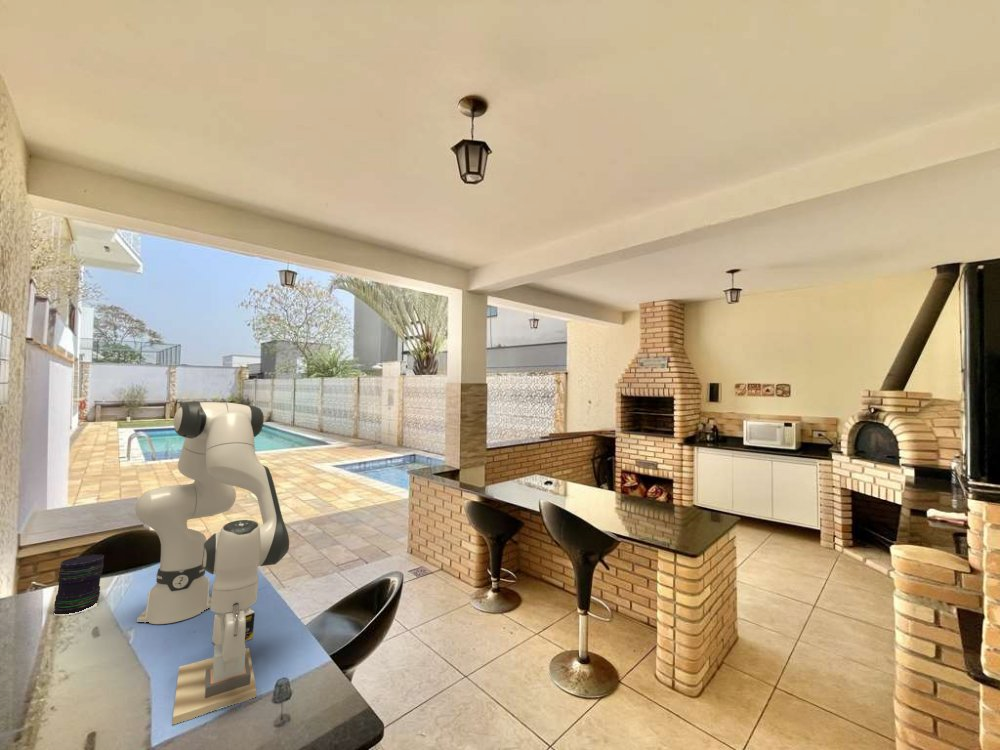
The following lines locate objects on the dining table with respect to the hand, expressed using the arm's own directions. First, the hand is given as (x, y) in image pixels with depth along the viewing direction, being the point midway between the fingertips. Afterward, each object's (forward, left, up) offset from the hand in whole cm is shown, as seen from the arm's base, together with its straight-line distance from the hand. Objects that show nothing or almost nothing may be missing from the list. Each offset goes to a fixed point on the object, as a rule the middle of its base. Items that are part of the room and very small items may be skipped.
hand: (229, 662), depth 89 cm
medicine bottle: (-23, +2, -6) cm, 24 cm away
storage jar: (-73, -37, -6) cm, 82 cm away
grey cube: (0, 0, -2) cm, 2 cm away
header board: (-3, -2, -6) cm, 7 cm away
